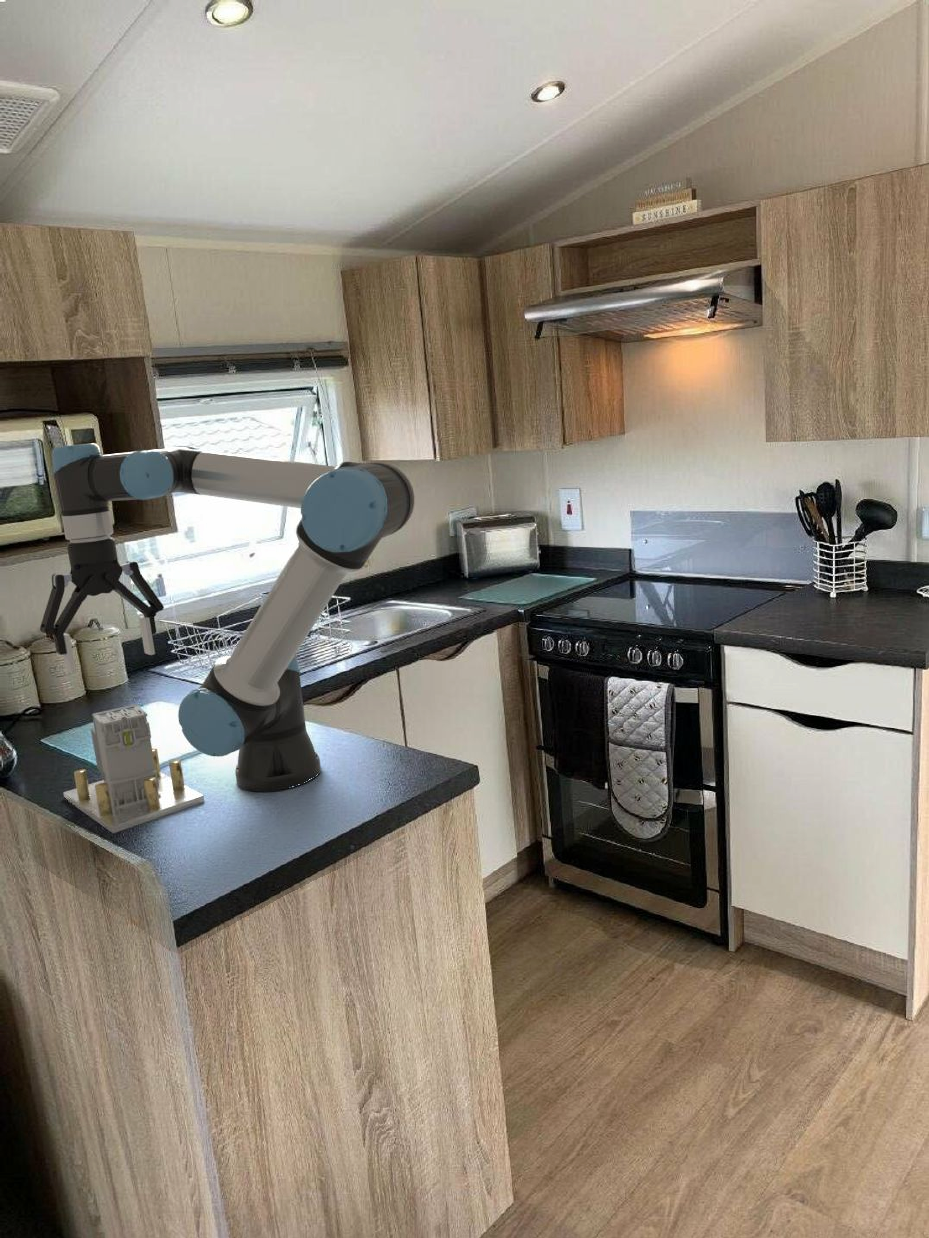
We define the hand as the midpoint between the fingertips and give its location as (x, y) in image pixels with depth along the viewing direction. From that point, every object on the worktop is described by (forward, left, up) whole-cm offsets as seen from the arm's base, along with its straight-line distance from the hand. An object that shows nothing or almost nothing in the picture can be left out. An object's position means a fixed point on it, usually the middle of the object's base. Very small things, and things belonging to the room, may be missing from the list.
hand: (111, 662), depth 164 cm
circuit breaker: (+2, -1, -24) cm, 24 cm away
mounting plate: (0, 0, -25) cm, 25 cm away
